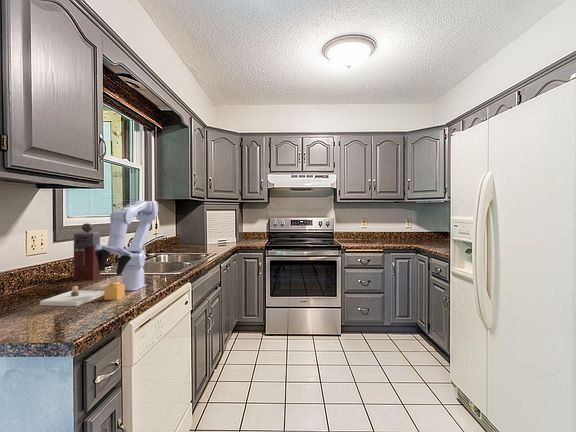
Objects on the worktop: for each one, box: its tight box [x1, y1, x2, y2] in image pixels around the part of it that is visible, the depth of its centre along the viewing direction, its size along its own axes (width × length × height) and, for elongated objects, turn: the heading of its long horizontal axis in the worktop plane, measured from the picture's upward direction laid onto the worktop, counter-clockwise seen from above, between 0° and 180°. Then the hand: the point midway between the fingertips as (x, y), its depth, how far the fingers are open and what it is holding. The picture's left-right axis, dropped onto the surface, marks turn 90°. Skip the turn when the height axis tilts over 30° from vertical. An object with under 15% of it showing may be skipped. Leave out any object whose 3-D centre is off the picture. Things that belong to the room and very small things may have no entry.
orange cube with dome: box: [104, 281, 126, 301], centre depth 122 cm, size 5×5×6 cm
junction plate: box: [39, 285, 105, 307], centre depth 120 cm, size 16×14×5 cm
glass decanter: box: [73, 222, 101, 281], centre depth 157 cm, size 9×11×28 cm
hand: (110, 272), depth 119 cm, fingers open, 7 cm apart
